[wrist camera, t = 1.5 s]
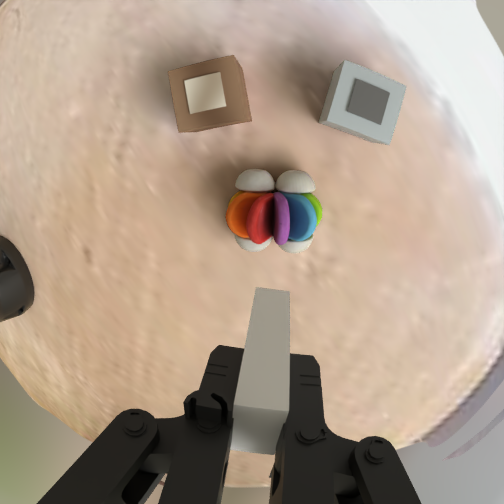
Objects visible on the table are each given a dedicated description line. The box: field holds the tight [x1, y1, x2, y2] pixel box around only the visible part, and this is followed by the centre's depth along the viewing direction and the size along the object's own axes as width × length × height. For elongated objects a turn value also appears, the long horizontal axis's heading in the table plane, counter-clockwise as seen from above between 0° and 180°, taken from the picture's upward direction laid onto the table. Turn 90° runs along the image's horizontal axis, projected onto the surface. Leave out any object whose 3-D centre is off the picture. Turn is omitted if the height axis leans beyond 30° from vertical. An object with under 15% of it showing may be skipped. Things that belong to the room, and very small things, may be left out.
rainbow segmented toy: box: [226, 169, 322, 253], centre depth 29 cm, size 8×10×7 cm
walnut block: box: [168, 55, 252, 133], centre depth 26 cm, size 6×6×6 cm
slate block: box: [319, 60, 406, 145], centre depth 25 cm, size 6×6×6 cm
